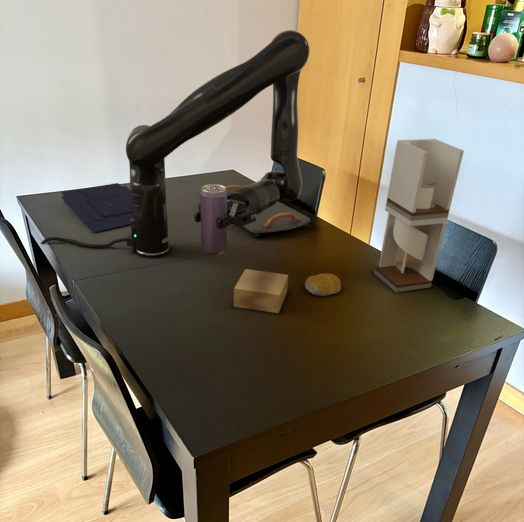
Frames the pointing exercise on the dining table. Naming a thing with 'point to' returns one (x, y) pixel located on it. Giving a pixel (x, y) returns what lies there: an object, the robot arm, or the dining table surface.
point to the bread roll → (323, 284)
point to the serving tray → (274, 218)
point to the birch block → (260, 291)
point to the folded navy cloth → (101, 205)
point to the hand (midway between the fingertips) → (207, 221)
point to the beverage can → (213, 218)
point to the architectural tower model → (417, 211)
